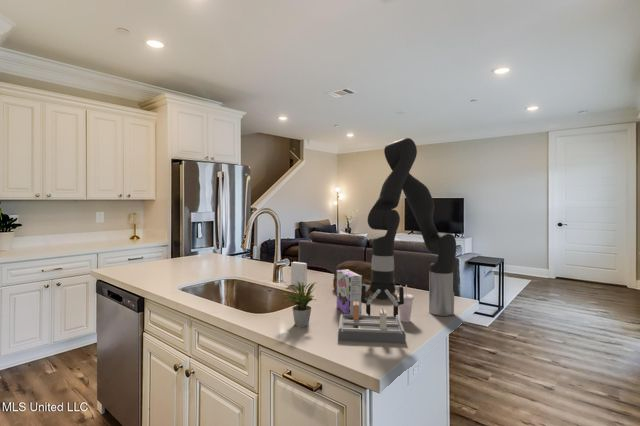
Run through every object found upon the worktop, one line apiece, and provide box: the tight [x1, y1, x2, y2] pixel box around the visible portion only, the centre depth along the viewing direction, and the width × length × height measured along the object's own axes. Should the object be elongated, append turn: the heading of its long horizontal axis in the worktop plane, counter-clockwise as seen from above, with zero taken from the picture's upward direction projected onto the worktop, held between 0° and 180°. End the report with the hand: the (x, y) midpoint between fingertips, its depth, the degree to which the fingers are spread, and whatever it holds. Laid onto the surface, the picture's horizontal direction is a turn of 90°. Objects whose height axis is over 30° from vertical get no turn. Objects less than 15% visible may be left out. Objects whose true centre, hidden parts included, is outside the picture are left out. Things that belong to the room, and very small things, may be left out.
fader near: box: [379, 308, 388, 329], centre depth 118 cm, size 2×4×6 cm, turn 174°
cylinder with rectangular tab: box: [290, 261, 308, 287], centre depth 193 cm, size 9×9×12 cm
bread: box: [332, 260, 397, 300], centre depth 178 cm, size 15×32×16 cm, turn 52°
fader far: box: [353, 301, 359, 320], centre depth 127 cm, size 2×4×6 cm, turn 175°
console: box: [337, 313, 407, 344], centre depth 123 cm, size 22×16×4 cm
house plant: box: [281, 281, 318, 328], centre depth 132 cm, size 14×14×16 cm
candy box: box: [336, 269, 362, 315], centre depth 146 cm, size 14×6×16 cm, turn 19°
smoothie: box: [396, 284, 415, 323], centre depth 135 cm, size 6×6×14 cm
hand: (381, 315), depth 119 cm, fingers open, 8 cm apart
